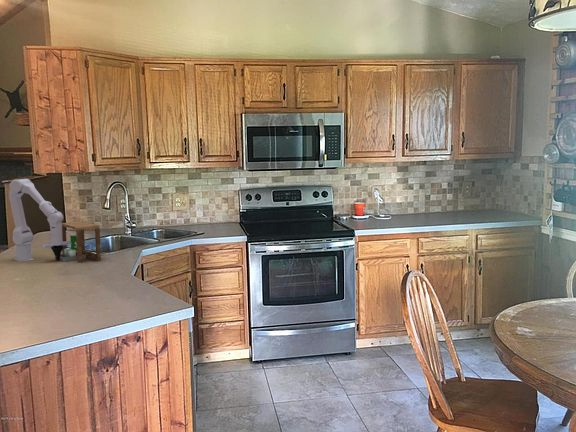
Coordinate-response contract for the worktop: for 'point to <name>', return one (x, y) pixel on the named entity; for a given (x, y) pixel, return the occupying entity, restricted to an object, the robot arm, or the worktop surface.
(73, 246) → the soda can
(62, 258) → the tray
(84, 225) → the small wooden stool
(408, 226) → the worktop surface
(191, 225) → the worktop surface
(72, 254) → the mint green capsule
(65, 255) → the pale green rounded cylinder
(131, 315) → the worktop surface
